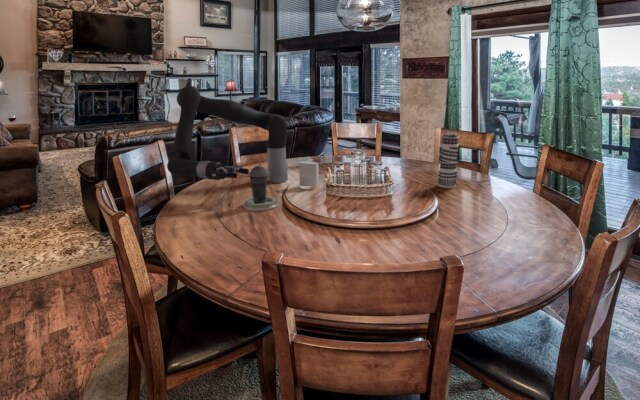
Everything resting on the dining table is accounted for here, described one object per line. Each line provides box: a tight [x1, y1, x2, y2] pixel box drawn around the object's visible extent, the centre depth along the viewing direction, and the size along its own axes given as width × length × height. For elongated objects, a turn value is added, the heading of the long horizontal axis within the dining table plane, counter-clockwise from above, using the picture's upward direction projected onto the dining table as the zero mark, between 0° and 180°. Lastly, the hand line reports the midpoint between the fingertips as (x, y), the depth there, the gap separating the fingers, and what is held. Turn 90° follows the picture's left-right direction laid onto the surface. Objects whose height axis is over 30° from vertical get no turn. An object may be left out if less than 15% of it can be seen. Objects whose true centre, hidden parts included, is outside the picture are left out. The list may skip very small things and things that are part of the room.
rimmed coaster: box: [242, 195, 279, 212], centre depth 180 cm, size 14×14×2 cm
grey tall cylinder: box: [437, 132, 461, 189], centre depth 207 cm, size 9×9×25 cm
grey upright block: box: [298, 161, 319, 186], centre depth 208 cm, size 9×9×12 cm
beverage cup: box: [249, 155, 268, 204], centre depth 177 cm, size 7×7×20 cm
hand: (242, 173), depth 180 cm, fingers open, 8 cm apart
